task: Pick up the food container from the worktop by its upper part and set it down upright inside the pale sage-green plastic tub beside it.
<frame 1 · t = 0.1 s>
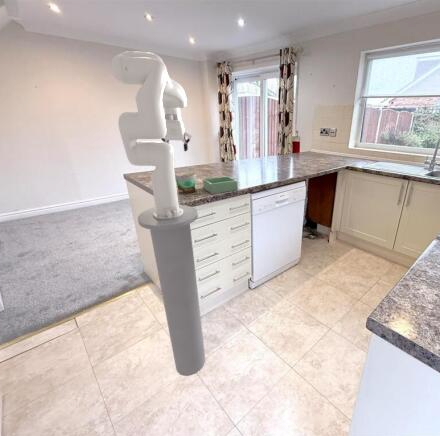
hand: (177, 150, 139), 22 cm above the worktop, tool pointing down, fingers open, 9 cm apart
tub: (220, 189, 149), on the worktop
food container: (189, 192, 141), on the worktop
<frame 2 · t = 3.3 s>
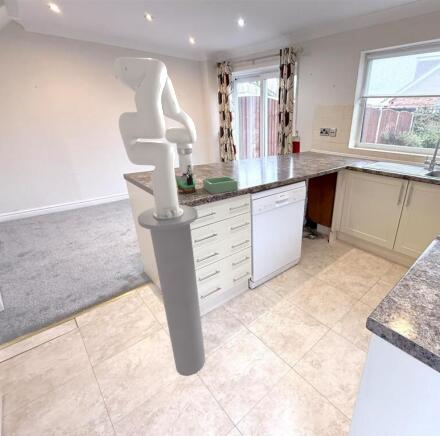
hand: (188, 183, 139), 5 cm above the worktop, tool pointing down, fingers closed on food container, 6 cm apart
food container: (189, 192, 141), on the worktop, touching gripper
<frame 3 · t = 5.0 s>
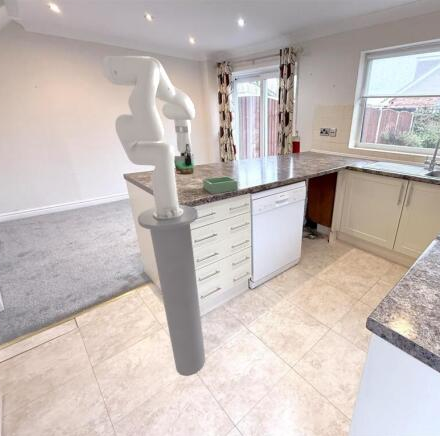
hand: (186, 164, 134), 16 cm above the worktop, tool pointing down, fingers closed on food container, 6 cm apart
food container: (187, 174, 136), point 11 cm above the worktop, touching gripper
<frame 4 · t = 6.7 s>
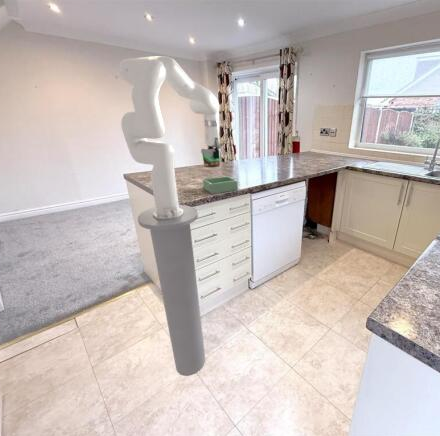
hand: (213, 157, 140), 19 cm above the worktop, tool pointing down, fingers closed on food container, 6 cm apart
food container: (214, 166, 142), point 14 cm above the worktop, touching gripper
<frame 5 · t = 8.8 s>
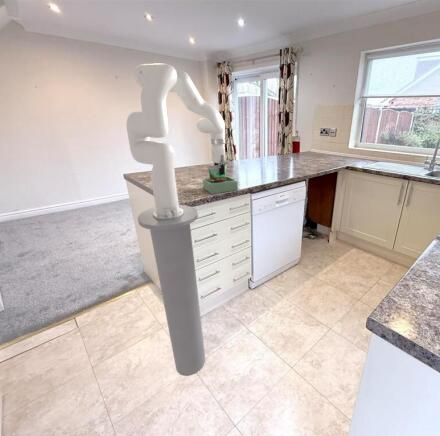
hand: (219, 173, 145), 10 cm above the worktop, tool pointing down, fingers closed on food container, 6 cm apart
food container: (220, 182, 147), point 4 cm above the worktop, touching gripper
when the fingers open (6 cm above the worktop, at t = 10.4 s): food container stays where it is, resting on tub.
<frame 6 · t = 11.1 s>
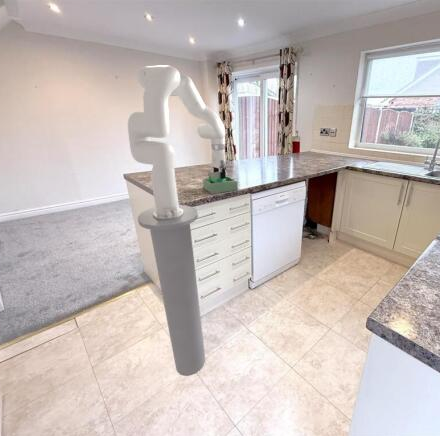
hand: (219, 176, 146), 8 cm above the worktop, tool pointing down, fingers open, 9 cm apart
food container: (220, 188, 148), point 1 cm above the worktop, touching tub
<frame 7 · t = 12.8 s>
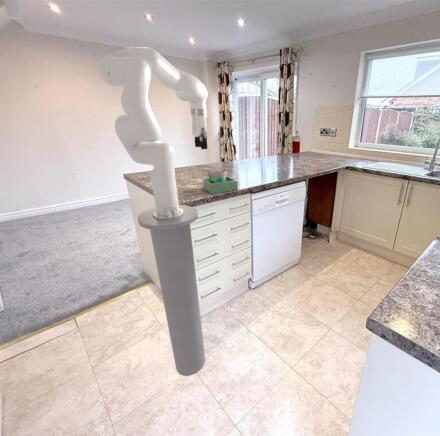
hand: (201, 148, 131), 25 cm above the worktop, tool pointing down, fingers open, 9 cm apart
nothing on the worktop moved.
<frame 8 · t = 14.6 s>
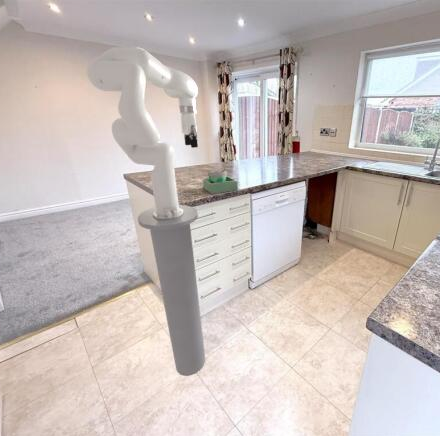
hand: (191, 146, 127), 26 cm above the worktop, tool pointing down, fingers open, 9 cm apart
nothing on the worktop moved.
at the end: food container inside the target area in the tub (0.2 cm from its centre), point 0.6 cm above the tub's base; food container tilted 0°; the gripper is holding nothing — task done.
